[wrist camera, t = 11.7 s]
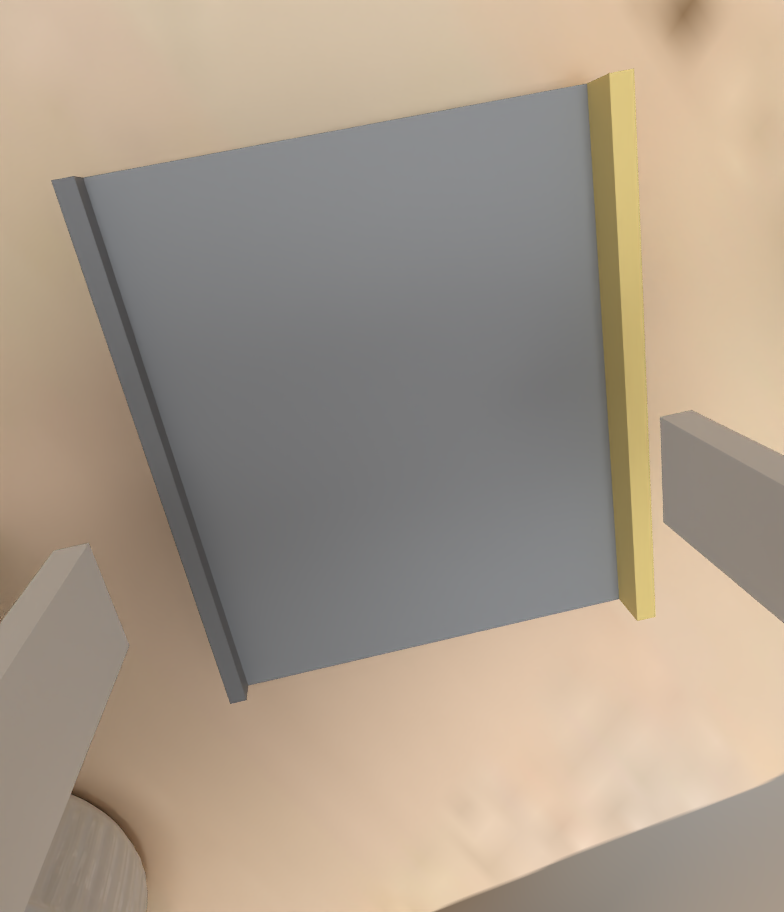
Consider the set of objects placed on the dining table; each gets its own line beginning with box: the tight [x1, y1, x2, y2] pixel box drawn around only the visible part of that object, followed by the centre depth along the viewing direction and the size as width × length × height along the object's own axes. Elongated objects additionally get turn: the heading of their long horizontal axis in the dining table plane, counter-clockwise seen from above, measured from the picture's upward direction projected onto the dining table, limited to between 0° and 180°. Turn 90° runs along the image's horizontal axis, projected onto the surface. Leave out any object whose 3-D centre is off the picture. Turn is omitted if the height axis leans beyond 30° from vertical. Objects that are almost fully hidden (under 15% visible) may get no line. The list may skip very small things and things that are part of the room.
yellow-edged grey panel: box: [51, 69, 655, 704], centre depth 22 cm, size 16×18×3 cm
